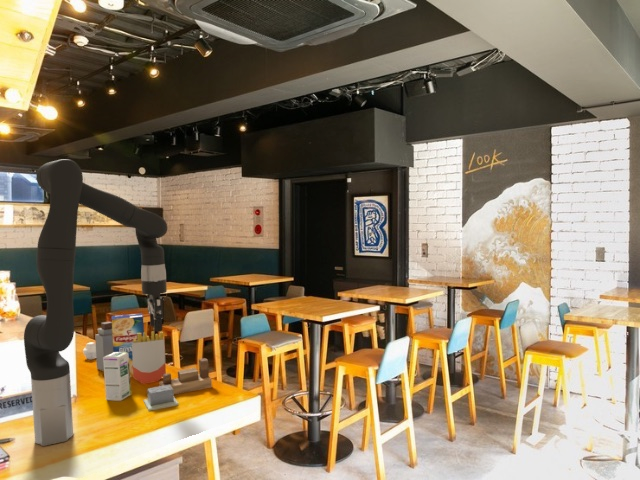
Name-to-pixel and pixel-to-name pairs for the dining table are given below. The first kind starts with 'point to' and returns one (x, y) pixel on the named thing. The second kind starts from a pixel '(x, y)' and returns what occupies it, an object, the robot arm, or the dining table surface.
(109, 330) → the perfume bottle
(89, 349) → the white lumpy round piece
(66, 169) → the robot arm
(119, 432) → the dining table surface
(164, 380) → the body
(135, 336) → the cereal box
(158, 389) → the lever cap
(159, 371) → the french fries container
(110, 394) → the syrup box
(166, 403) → the mat
